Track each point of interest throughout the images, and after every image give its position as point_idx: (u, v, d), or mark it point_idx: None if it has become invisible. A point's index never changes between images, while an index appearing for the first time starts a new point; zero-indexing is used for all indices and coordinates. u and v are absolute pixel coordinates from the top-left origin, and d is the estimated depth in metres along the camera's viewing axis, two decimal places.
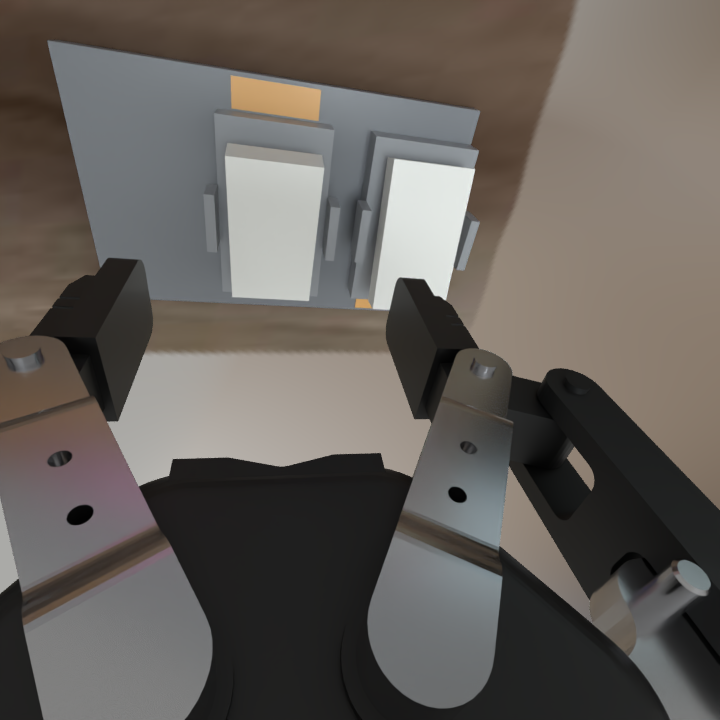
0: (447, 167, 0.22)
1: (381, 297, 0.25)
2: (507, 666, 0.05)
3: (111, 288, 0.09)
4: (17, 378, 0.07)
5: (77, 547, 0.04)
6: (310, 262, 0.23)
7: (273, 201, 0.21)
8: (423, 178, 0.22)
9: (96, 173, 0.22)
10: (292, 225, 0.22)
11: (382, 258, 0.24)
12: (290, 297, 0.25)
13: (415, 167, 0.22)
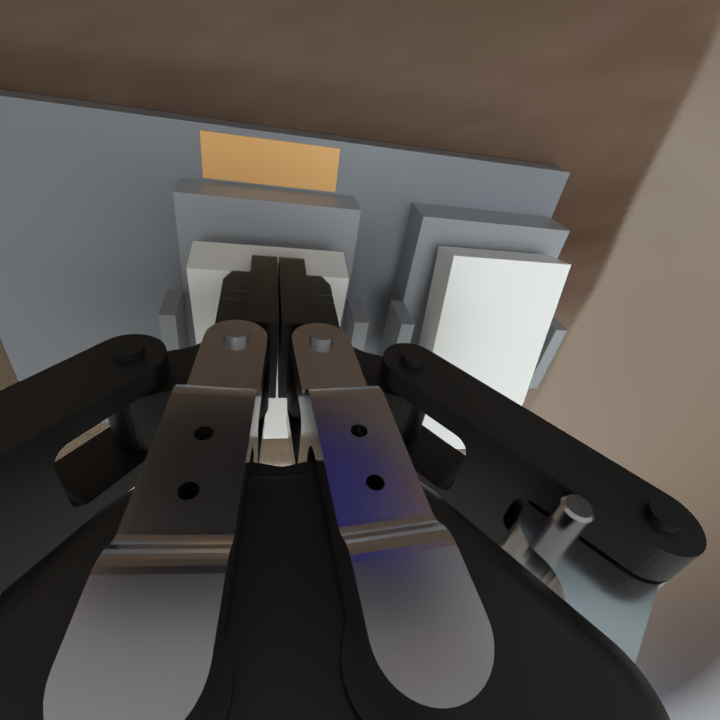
0: (531, 264, 0.14)
1: None
2: (507, 666, 0.05)
3: (268, 281, 0.10)
4: (241, 354, 0.08)
5: (170, 518, 0.05)
6: None
7: None
8: (495, 280, 0.14)
9: (1, 271, 0.15)
10: None
11: None
12: None
13: (484, 267, 0.14)
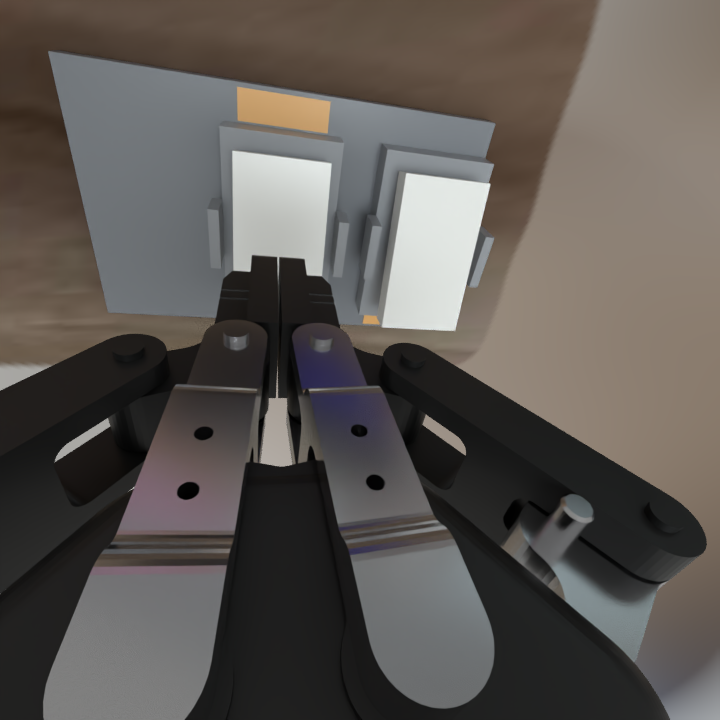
0: (461, 182, 0.21)
1: (391, 315, 0.24)
2: (507, 666, 0.05)
3: (269, 281, 0.10)
4: (241, 354, 0.08)
5: (168, 519, 0.05)
6: (319, 274, 0.22)
7: (280, 201, 0.20)
8: (437, 193, 0.21)
9: (98, 186, 0.22)
10: (299, 229, 0.21)
11: (392, 275, 0.23)
12: None
13: (428, 182, 0.21)
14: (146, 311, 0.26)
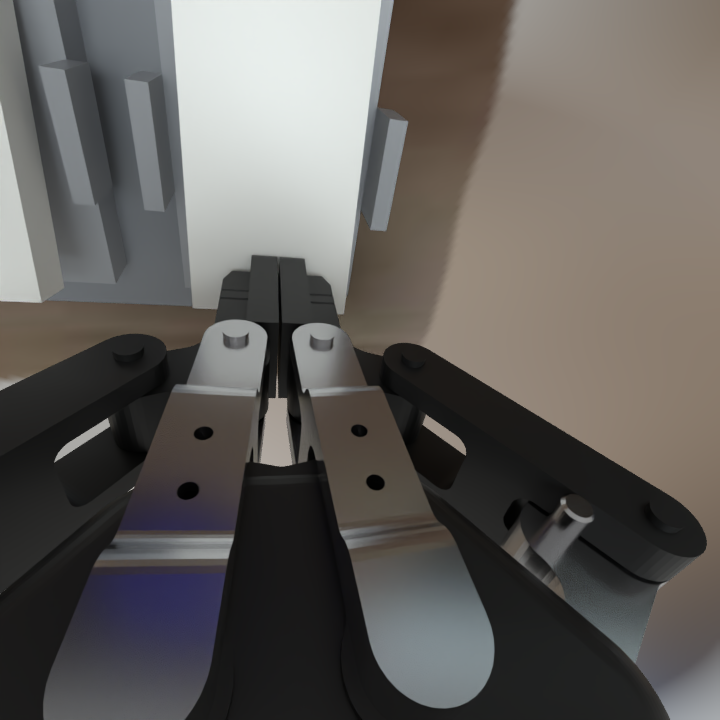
0: None
1: (206, 284, 0.12)
2: (507, 666, 0.05)
3: (268, 281, 0.10)
4: (241, 354, 0.08)
5: (169, 518, 0.05)
6: (10, 187, 0.10)
7: None
8: None
9: None
10: None
11: (191, 199, 0.11)
12: None
13: None
14: None
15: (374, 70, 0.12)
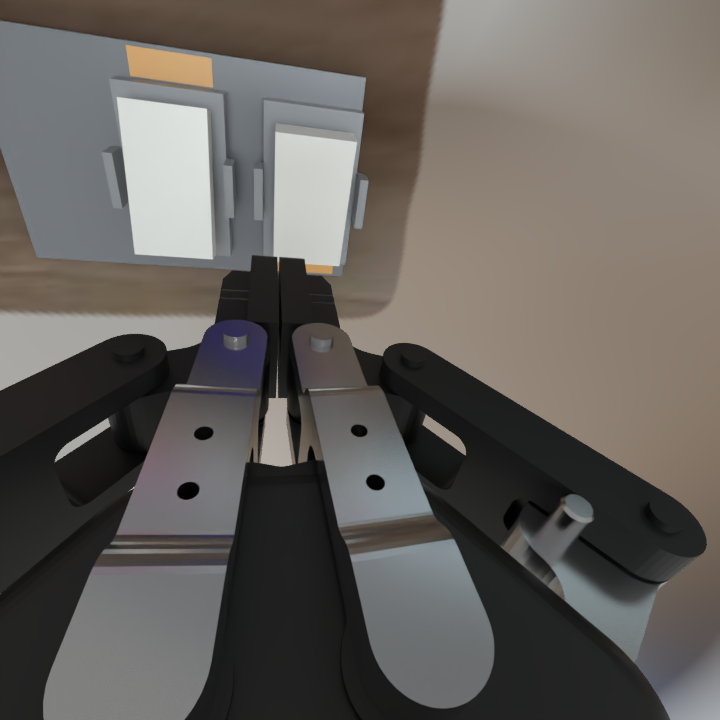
0: (329, 140, 0.23)
1: (280, 252, 0.28)
2: (507, 666, 0.05)
3: (269, 281, 0.10)
4: (242, 354, 0.08)
5: (169, 519, 0.05)
6: (208, 211, 0.25)
7: (164, 143, 0.23)
8: (307, 150, 0.23)
9: (13, 137, 0.25)
10: (185, 169, 0.24)
11: (276, 219, 0.26)
12: (193, 254, 0.26)
13: (297, 140, 0.23)
14: (71, 257, 0.29)
15: (355, 157, 0.27)
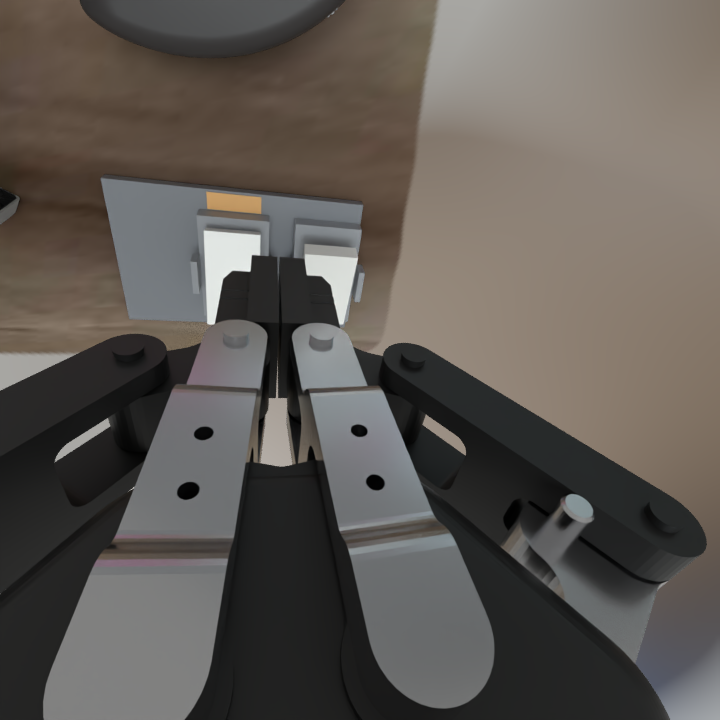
0: (339, 257, 0.35)
1: None
2: (507, 666, 0.05)
3: (269, 281, 0.10)
4: (242, 354, 0.08)
5: (168, 518, 0.05)
6: None
7: (232, 256, 0.35)
8: (325, 263, 0.36)
9: (125, 245, 0.37)
10: None
11: None
12: None
13: (319, 258, 0.35)
14: (153, 318, 0.41)
15: None
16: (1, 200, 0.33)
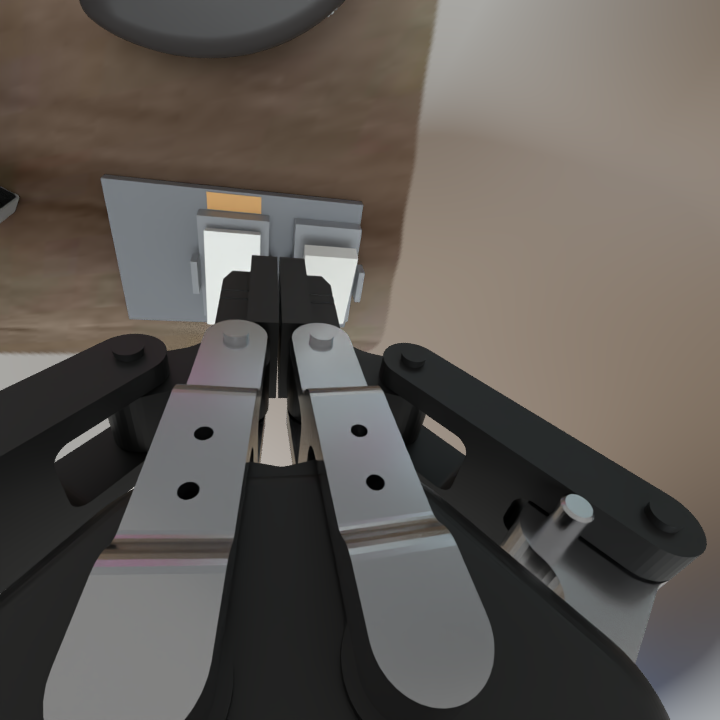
0: (339, 258, 0.35)
1: None
2: (507, 666, 0.05)
3: (269, 281, 0.10)
4: (242, 354, 0.08)
5: (169, 519, 0.05)
6: None
7: (232, 256, 0.35)
8: (325, 264, 0.36)
9: (125, 245, 0.37)
10: None
11: None
12: None
13: (319, 259, 0.35)
14: (153, 318, 0.41)
15: None
16: (1, 199, 0.33)
